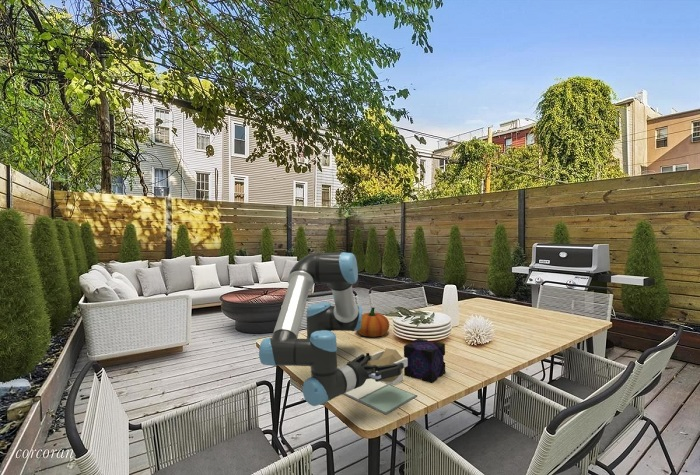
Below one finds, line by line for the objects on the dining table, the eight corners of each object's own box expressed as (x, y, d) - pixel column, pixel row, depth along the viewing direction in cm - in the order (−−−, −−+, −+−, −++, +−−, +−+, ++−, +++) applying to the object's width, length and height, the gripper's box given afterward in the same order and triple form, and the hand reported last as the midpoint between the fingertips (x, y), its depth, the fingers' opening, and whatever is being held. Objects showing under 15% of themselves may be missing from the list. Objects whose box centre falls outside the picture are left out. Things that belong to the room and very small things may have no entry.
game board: (333, 389, 125) (333, 388, 125) (365, 375, 137) (365, 374, 137) (385, 414, 107) (385, 413, 107) (417, 396, 119) (417, 395, 119)
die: (380, 380, 133) (380, 364, 132) (390, 375, 137) (390, 360, 137) (393, 385, 128) (393, 369, 128) (402, 380, 132) (402, 364, 132)
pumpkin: (349, 332, 198) (349, 306, 198) (378, 327, 206) (378, 302, 206) (365, 341, 180) (364, 313, 180) (396, 336, 188) (395, 309, 188)
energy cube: (418, 366, 146) (418, 338, 146) (445, 373, 138) (444, 343, 138) (404, 375, 137) (403, 345, 137) (432, 383, 129) (431, 352, 129)
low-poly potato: (405, 371, 124) (378, 354, 129) (413, 350, 119) (384, 333, 124) (386, 400, 113) (357, 380, 117) (394, 378, 108) (363, 359, 112)
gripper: (325, 378, 113) (371, 360, 129) (376, 401, 97) (421, 377, 113) (325, 355, 113) (370, 340, 129) (376, 375, 97) (421, 355, 113)
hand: (394, 358), depth 121 cm, fingers closed on low-poly potato, 10 cm apart
